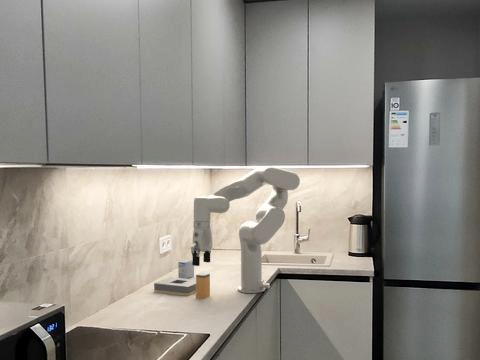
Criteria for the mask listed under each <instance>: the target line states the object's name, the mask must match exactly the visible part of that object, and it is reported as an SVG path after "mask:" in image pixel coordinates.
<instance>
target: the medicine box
mask: <svg viewBox="0 0 480 360" xmlns="http://www.w3.org/2000/svg"><path fill="white" fill-rule="evenodd" d="M192 262H193V259H184V260H181V261H179V262H178V263H177V264H178V268H177V269H178V271H177V272H178V273H177V274H178V276H177V278H185V279H191V278H194V277H193V276H195V266H193V265H192Z"/></svg>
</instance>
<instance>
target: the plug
mask: <svg viewBox="0 0 480 360" xmlns="http://www.w3.org/2000/svg"><path fill="white" fill-rule="evenodd" d="M210 277H211V273H208V272H207V273H206V272H200V273H196V274H195V280H196V292H195V294H196V295H195V298H197V299H207V298H209V297H210V296H211V286H210V285H211V283H210V282H211V279H210Z"/></svg>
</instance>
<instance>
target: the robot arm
mask: <svg viewBox="0 0 480 360" xmlns="http://www.w3.org/2000/svg"><path fill="white" fill-rule="evenodd" d="M300 182H301V179H300V176H299V175H298V174H297V173H296V172H293V171H290V170H286V169H283V168H279V167H275V166H271V165H270V166H267V165H266V166H265V165H264V166H258V167H257V168H255V169H254V170H251V171H250V172H249V173H247V174H246V175H244V176H242V177H241V178H239V179H238V180H235V181H233V182H232V183H230V184H228V185H226V186H223V187H221V188H220V189H218V190H216V191H215V192H213V193H212V194H209V196H196V197H194V198H193V224H192V225H193V227H192V228H193V231H192V245H191V246H190V251H191V252H190V253H191V257H192V260H193V262H192V265H193V266H194V267H200V261H201V260H200V258H201V257H200V254H201V252H203V257H202V258H203V263H211V253H212V248H213V242H212V241H213V237H212V228H211V225H212V224H211V223H212V217H211V215H212V213H214V214H224V213H226V212H228V210H229V209H230V204H231V203H230V202H232V201H235V200H238V199H243V198H247V197H248V196H250V195H252V194H253V193H254V192H257V191H258V190H259V189H261V188H262V187H264V186H265V185H267V186H271V188H272V189H271V190H272V191H271V195H270V196H269V197H268V198H267V200H266V201H265V202H264V203H263V204H262V205H261V206H260V207H259V209H258V210H257V211H256V213H255V220H256V222H255V221H245V222H243V224H241V225H240V227H239V231H238V237H239V243H240V285H239V286H237V291H238V292H239V293H245V294H259V293H263V292H265V291H266V289H270V288H271V284H270V283H269V282H268V283H265V282H264V281H265V280H264V279H263V278H262V277H263V276H262V273H263V272H262V269H263V267H262V264H263V263H262V256H263V255H262V246H264V245H265V244H267V243H268V242H269V241H270V240H271V239H272V238H273V237H274V236H275V235H276V233H277V232H278V231H279V230H280V229H281V227H282V226H283V225H284V222H285V220H286V214H285V211H284V208H285V207H286V205H287V203H288V201H289V195H288V194H289V192H288V191H294V190H297V189H298V187H299V186H300Z"/></svg>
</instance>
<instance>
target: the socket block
mask: <svg viewBox="0 0 480 360" xmlns="http://www.w3.org/2000/svg"><path fill="white" fill-rule="evenodd" d="M153 286H154V287H153V288H154V289H153V291H154V293H160V294H170V295H176V296H178V295H179V296H191V295H193V294H196V278H194V279H193V278H187V279H185V278H178V277H175V276H173V277H171V276H169V277H167V278H165V279H162V280H159V281H157V282H153Z"/></svg>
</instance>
